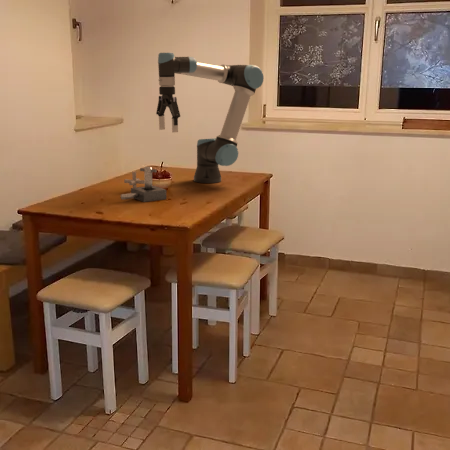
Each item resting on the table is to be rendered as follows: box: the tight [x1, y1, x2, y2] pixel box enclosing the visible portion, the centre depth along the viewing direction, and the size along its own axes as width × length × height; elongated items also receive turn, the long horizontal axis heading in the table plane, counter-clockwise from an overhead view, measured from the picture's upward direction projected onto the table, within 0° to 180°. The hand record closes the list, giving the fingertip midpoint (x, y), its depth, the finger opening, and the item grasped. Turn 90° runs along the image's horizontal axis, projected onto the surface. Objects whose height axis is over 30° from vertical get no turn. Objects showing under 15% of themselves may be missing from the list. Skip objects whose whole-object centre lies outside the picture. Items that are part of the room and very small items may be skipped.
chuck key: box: [139, 166, 157, 190], centre depth 276 cm, size 8×4×14 cm, turn 68°
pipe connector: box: [123, 171, 145, 188], centre depth 291 cm, size 10×10×10 cm
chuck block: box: [120, 185, 167, 203], centre depth 275 cm, size 20×12×4 cm, turn 128°
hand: (168, 130), depth 289 cm, fingers open, 13 cm apart
